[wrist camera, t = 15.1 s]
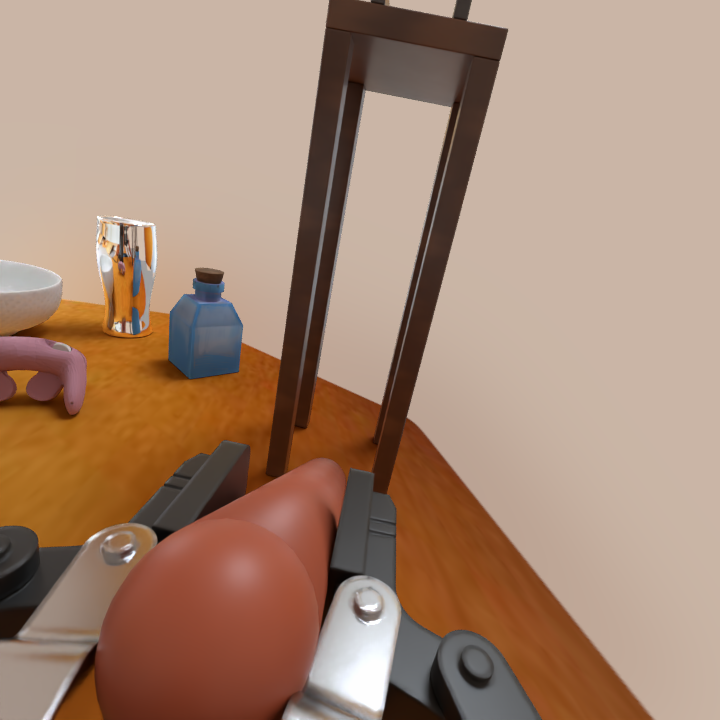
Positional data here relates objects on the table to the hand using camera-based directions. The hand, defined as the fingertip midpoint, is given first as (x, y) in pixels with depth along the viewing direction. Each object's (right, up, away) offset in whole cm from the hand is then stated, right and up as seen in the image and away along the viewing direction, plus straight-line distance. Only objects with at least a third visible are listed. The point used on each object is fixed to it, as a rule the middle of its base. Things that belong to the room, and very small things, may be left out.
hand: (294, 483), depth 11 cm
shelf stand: (0, -5, +25) cm, 26 cm away
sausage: (-1, -3, +3) cm, 5 cm away
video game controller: (-28, 0, +23) cm, 37 cm away
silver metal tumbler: (-31, +8, +44) cm, 55 cm away
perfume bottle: (-18, +3, +38) cm, 42 cm away
